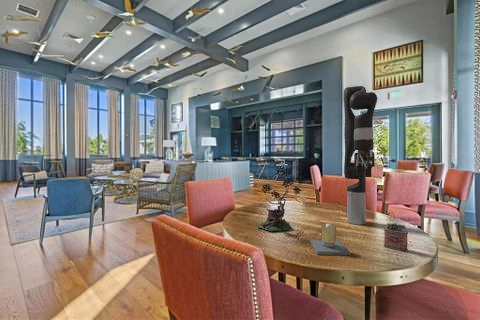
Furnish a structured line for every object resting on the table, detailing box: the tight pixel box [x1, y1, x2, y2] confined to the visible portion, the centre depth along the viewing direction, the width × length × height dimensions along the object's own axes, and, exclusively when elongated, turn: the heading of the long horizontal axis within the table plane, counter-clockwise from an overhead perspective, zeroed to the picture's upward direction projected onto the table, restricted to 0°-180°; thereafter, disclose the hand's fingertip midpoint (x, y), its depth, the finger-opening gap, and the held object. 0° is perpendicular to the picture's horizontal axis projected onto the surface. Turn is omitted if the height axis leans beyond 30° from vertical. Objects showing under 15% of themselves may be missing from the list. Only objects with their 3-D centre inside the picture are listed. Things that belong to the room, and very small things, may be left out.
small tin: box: [383, 222, 409, 253], centre depth 92 cm, size 8×3×10 cm, turn 45°
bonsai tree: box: [257, 166, 306, 232], centre depth 125 cm, size 35×24×32 cm
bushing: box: [320, 223, 337, 243], centre depth 93 cm, size 5×5×6 cm
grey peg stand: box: [309, 223, 351, 256], centre depth 93 cm, size 12×12×10 cm
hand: (363, 176), depth 102 cm, fingers open, 8 cm apart
